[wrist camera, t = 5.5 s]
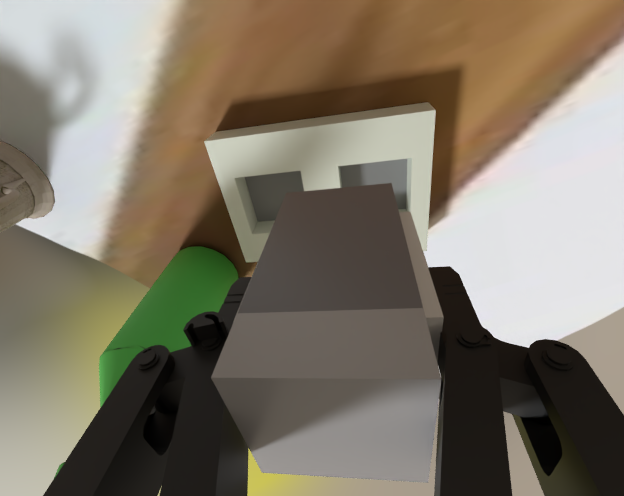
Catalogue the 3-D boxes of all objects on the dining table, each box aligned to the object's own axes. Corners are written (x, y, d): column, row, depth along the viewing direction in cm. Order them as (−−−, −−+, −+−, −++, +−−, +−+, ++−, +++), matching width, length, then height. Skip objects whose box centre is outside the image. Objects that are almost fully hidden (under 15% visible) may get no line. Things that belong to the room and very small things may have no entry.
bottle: (162, 248, 41) (-22, 475, 20) (222, 236, 38) (84, 475, 18) (195, 297, 45) (71, 520, 25) (250, 288, 43) (165, 524, 23)
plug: (286, 192, 15) (211, 377, 7) (391, 182, 15) (441, 379, 6) (302, 272, 18) (262, 472, 10) (392, 268, 17) (428, 482, 9)
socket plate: (215, 131, 31) (200, 144, 28) (428, 102, 28) (438, 112, 25) (252, 247, 39) (244, 266, 36) (421, 234, 36) (428, 255, 33)
